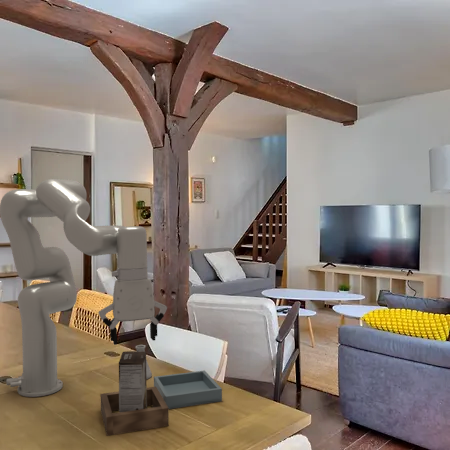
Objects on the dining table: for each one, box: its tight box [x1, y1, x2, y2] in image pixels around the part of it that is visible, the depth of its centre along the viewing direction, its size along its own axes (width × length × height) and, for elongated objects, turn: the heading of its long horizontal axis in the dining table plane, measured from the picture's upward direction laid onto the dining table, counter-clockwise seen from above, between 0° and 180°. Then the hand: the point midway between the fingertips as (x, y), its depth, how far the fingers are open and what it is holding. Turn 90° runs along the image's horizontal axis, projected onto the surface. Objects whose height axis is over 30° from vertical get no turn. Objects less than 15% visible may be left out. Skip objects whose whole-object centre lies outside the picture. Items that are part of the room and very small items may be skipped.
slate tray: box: [153, 369, 223, 410], centre depth 137 cm, size 16×16×4 cm
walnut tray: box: [100, 386, 170, 437], centre depth 122 cm, size 15×15×4 cm
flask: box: [135, 344, 153, 380], centre depth 151 cm, size 7×7×10 cm
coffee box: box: [118, 350, 148, 413], centre depth 122 cm, size 9×6×16 cm
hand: (134, 341), depth 121 cm, fingers open, 9 cm apart
